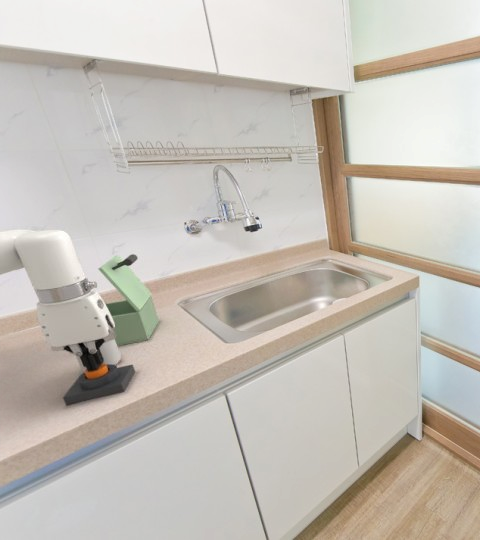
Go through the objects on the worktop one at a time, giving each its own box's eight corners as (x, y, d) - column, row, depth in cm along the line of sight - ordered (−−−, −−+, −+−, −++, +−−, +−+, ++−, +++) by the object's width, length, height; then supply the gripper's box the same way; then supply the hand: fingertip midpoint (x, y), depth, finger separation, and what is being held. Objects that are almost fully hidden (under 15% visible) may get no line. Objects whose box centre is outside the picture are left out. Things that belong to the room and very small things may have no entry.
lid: (97, 268, 85) (121, 258, 86) (115, 256, 96) (136, 246, 97) (137, 311, 91) (158, 301, 92) (149, 295, 102) (168, 286, 103)
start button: (84, 381, 71) (81, 374, 71) (91, 372, 75) (88, 365, 74) (104, 376, 73) (102, 370, 72) (111, 367, 76) (108, 361, 75)
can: (84, 379, 78) (66, 335, 74) (81, 367, 83) (63, 324, 79) (124, 365, 83) (109, 322, 79) (119, 354, 88) (104, 313, 84)
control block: (66, 406, 70) (59, 390, 68) (83, 383, 76) (76, 369, 75) (124, 392, 73) (118, 377, 72) (135, 371, 80) (130, 357, 79)
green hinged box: (87, 351, 89) (76, 323, 86) (105, 330, 100) (95, 304, 97) (148, 340, 94) (139, 312, 91) (159, 321, 105) (151, 296, 102)
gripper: (116, 279, 73) (141, 350, 79) (26, 291, 67) (60, 367, 74) (103, 291, 66) (131, 367, 73) (2, 306, 61) (42, 387, 67)
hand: (95, 367), depth 73 cm, fingers closed
